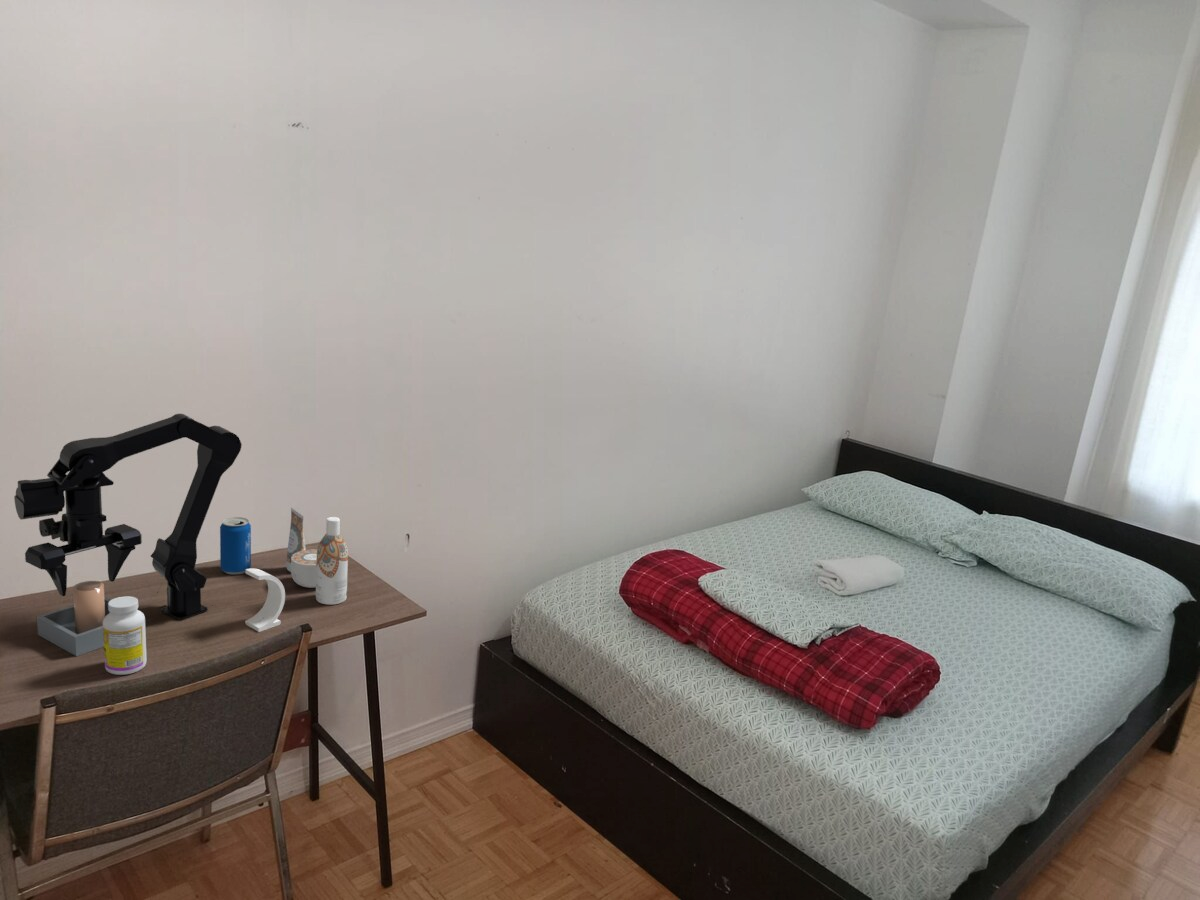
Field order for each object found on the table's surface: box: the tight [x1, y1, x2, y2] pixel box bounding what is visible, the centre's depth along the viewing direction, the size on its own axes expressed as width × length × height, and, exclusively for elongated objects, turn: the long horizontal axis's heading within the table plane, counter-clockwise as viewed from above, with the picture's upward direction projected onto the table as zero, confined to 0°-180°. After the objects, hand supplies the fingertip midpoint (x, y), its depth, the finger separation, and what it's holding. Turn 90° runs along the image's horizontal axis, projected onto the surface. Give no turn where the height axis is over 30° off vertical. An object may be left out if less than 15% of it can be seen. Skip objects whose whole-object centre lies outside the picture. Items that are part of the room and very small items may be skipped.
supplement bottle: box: [103, 595, 148, 676], centre depth 156 cm, size 7×7×13 cm
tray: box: [36, 595, 112, 657], centre depth 167 cm, size 13×13×4 cm
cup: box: [72, 580, 105, 634], centre depth 166 cm, size 5×5×9 cm
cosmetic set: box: [285, 507, 349, 606], centre depth 197 cm, size 25×9×19 cm, turn 42°
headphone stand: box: [244, 568, 286, 633], centre depth 177 cm, size 5×6×12 cm
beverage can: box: [219, 516, 252, 575], centre depth 200 cm, size 6×6×12 cm
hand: (87, 588), depth 165 cm, fingers open, 9 cm apart
